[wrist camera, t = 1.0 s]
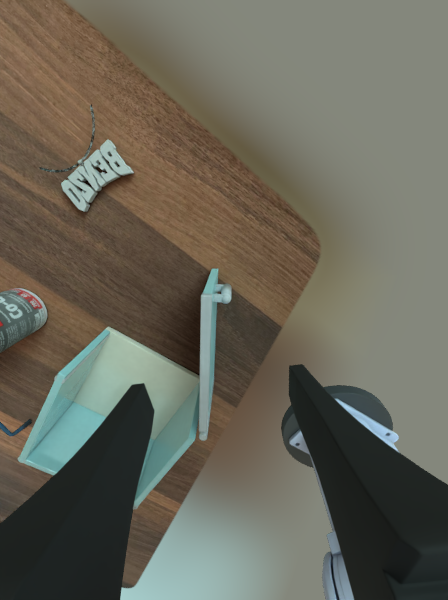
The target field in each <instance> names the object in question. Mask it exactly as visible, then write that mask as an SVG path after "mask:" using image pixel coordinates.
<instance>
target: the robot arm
mask: <svg viewBox="0 0 448 600" xmlns="http://www.w3.org/2000/svg"><path fill="white" fill-rule="evenodd" d="M289 397H290V401H291V404H292V408H293V411H294V415H295V418H296V420H297V423H298V425H299V428H300V429H299V430H298V431H297V432H296V433H295V434H294V435H293V436H292V437H291V438H290V439H289V443H290V444H291V445H292V446H294V447H296V448H298V449H300V450H302V451H304V452H306V453H308V454H309V455H310V457H311V461H312V464H313V467H314V471H315V473H316V477H317V480H318V484H319V487H320V490H321V494H322V497H323V500H324V504H325V507H326V510H327V514H328V517H329V520H330V524H331V527H332V530H333V532H331V533H329V534H327V539H328V542H329V546H330V549H331V552H328V553H327V554H326V555H325V557H324V563H323V574H322V578H323V588H324V594H325V599H326V600H448V485H447V484H446V483H444V482H442V481H441V480H439V479H437V478H436V477H434V476H433V475H431V474H430V473H428V472H427V471H425V470H424V469H422V468H420V467H419V466H418V465H416V464H415V463H413V462H412V461H411V460H409V459H408V458H406V457H405V456H403V455H402V454H401V453H399V452H398V450H397V448H396V447H395V445H394V444H393V443H394V442H396V441H397V440H398V438H399V436H398V435H397V434H396V433H395V432H393V431H391V430H390V429H388V428H386V427H385V426H383V425H381V424H380V423H378V422H376V421H374V420H373V419H371V418H369V417H368V416H366V415H364V414H363V413H361V412H359V411H357V410H356V409H354V408H352V407H351V406H349V405H347V404H346V403H344V402H342V401H341V400H339V399H334V398H333V397H332V396H331V395H330V394H329V393H328V392H327V391H326V390H325V389H324V388H323V387H322V386H321V385H320V383H318V381H317V380H316V379H315V378H314V377H313V376H312V375H311V374H310V373H309V371H308V370H307V369H306V368H305V367H304V366H303V365H302V364H301V365H293V366H290V367H289ZM154 412H155V410H154V408H153V405H152V403H151V400H150V397H149V395H148V392H147V389H146V387H145V384H144V383H141V384H133V385H131V386H130V388H129V389H128V390H127V392H126V393H125V394H124V395H123V397H122V398H121V399H120V401H119V402H118V403H117V405H116V406H115V407H114V408H113V410H112V411H111V412H110V413H109V415H108V416H107V417H106V418H105V420H104V421H103V422H102V423H101V425H100V426H99V427H98V428H97V430H96V431H95V432H94V433H93V434H92V435H91V437H90V438H89V439H88V440H87V441H86V442H85V444H84V445H83V446H82V447H81V448H80V449H79V450H78V451H77V452H76V454H75V455H74V456H73V457H72V458H71V459H70V460H69V461H68V462H67V463H66V464H65V465H64V466H63V467H62V468H61V469H60V470H59V471H58V472H57V473H56V474H55V475H54V476H53V477H52V478H51V479H50V480H49V481H48V482H47V483H45V484H44V485H43V486H42V487H41V488H40V489H39V490H38V491H37V492H36V493H35V494H34V495H33V496H32V497H30V498H29V499H28V500H27V501H26V502H25V503H24V504H23V505H21V506H20V507H19V508H18V509H17V510H16V511H15V512H13V513H12V514H11V515H10V516H9V517H7V518H6V519H5V520H4V521H3V522H1V523H0V600H120V595H121V587H122V579H123V572H124V564H125V557H126V550H127V544H128V537H129V531H130V524H131V518H132V513H133V507H134V501H135V496H136V491H137V487H138V483H139V479H140V475H141V471H142V468H143V464H144V460H145V456H146V452H147V449H148V445H149V441H150V437H151V433H152V426H153V419H154Z"/></svg>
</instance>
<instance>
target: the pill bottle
mask: <svg viewBox="0 0 448 600" xmlns="http://www.w3.org/2000/svg"><path fill="white" fill-rule="evenodd" d="M46 320H47V309H46V307H45V305H44V303H43V301H42V300H41V299H40V298H39V297H38V296H36V295H35V294H34V293H32V292H30V291H28V290H25V289H21V288H14V289H9V290H6V291H3V292H1V293H0V353H1V352H2V351H4V350H6V349H7V348H9V347H10V346H12V345H14V344H15V343H17V342H19V341H20V340H22V339H23V338H25V337H27V336H28V335H30V334H32V333H33V332H35V331H37V330H38V329H40V328H41V327H42V326H43V325H44V324H45V322H46Z"/></svg>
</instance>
